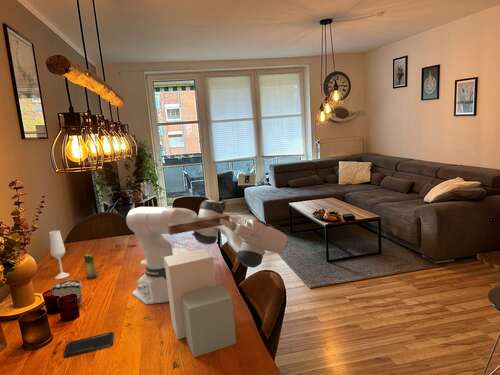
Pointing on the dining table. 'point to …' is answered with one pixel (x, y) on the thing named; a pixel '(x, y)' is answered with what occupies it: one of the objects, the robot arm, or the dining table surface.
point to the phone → (89, 344)
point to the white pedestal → (187, 281)
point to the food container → (68, 289)
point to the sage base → (208, 320)
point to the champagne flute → (57, 250)
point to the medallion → (175, 251)
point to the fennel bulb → (90, 266)
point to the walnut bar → (196, 224)
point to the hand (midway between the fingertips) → (217, 219)
